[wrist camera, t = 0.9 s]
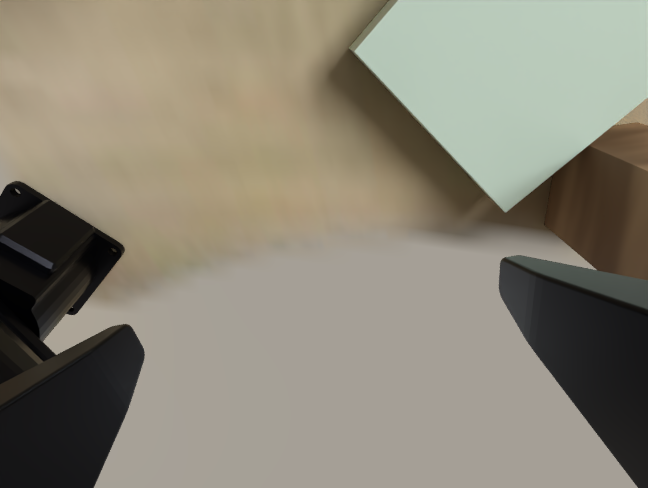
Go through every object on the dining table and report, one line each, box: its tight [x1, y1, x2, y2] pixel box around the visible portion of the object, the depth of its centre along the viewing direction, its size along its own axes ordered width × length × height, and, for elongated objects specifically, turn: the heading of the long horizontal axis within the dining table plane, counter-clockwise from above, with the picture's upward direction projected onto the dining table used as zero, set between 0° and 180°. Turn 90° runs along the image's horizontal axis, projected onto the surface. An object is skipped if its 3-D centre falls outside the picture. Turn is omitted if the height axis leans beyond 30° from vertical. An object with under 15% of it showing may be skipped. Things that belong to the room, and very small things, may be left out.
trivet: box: [349, 0, 648, 213], centre depth 17 cm, size 11×11×2 cm
